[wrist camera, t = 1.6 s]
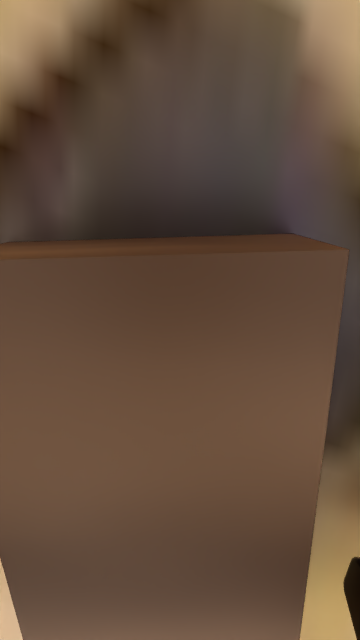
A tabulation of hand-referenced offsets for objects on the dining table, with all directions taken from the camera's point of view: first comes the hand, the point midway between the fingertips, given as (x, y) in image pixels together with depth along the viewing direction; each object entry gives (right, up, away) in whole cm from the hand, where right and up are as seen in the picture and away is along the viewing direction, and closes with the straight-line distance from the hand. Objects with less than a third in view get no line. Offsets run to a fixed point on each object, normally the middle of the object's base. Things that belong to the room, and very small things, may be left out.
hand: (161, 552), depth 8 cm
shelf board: (0, +1, +2) cm, 2 cm away
